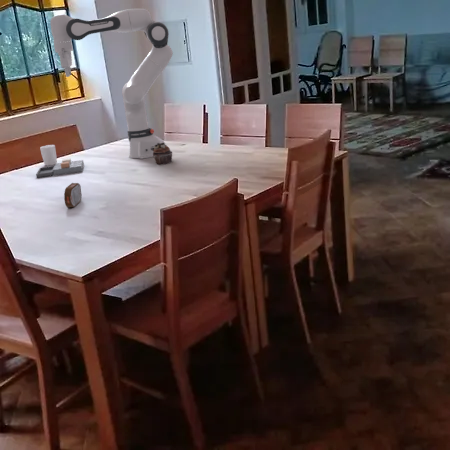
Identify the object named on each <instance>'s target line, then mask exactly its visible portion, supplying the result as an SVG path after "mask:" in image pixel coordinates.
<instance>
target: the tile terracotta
mask: <svg viewBox="0 0 450 450" xmlns="http://www.w3.org/2000/svg"><path fill="white" fill-rule="evenodd" d="M60 163H61V168H65V167H70V162H62V161H61V162H60Z"/></svg>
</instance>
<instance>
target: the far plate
mask: <svg viewBox="0 0 450 450" xmlns="http://www.w3.org/2000/svg"><path fill="white" fill-rule="evenodd" d="M61 163H62V162H59V163H58V162H57V164H54V166H55V167H54V169H53V173H54V175H53V177H54V176H55V177H56V176H63V175H70V174H75V173H76V174H77V173H83V171H84V167H85V163H84V159H81V160H73V161H72V160H71V164H70V167H65V168H61Z"/></svg>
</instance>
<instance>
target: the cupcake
mask: <svg viewBox="0 0 450 450" xmlns="http://www.w3.org/2000/svg"><path fill="white" fill-rule="evenodd" d="M170 150H171V148H170V147H169V146H168V145H167V144H166V143H157V145H155V146H154V150H153V156H154V157H153V158H154V161H155V164H156V165H159V166H162V165H168V164H171V163H173V162H172V161H173V151H170Z"/></svg>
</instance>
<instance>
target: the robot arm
mask: <svg viewBox="0 0 450 450" xmlns="http://www.w3.org/2000/svg"><path fill="white" fill-rule="evenodd" d="M50 29H51V35H52V37H53V47H54V53H55V54H56V53H58V56H59V59H60V65H61V68H62V69H63V71H64V73H65V77H66V78H69V77H71V76H72V69H71V67H72V66H73V59H72V52H73V51H74V49H73V42H72V40H74V41H81V40H83V39H84V38H86V37H87V36H89V35H92V34H98V33H104V32H105V33H106V32H112V33H119V34H122V33H123V34H125V33H127V34H128V33H133V32H134V33H135V32H143V33H144V35H145V37H146V38H147V40H148V41H149V42H150V43H151V45H152V46H151V49H150V51H149V52H148V54H147V56H145V58H144V59H143V60H142V62H141V63H140V64H139V66H138V67H137V68H136V70H135V72H134V73H133V74H132V75H131V77H130V78H129V80H128V82H126V83H125V84H124V85H123V87H122V89H121V93H122V100H123V105H124V113H125V118H126V119H125V120H126V126H127V138H128V139H127V140H128V141H129V154H128V157H129V158H130V159H148V158H152V157H153V158H154V156H153V150H154V146H155V145H157V143H165V141H164V140H163V138H161V137H159V136H157V135H155V134H154V133H155V130H154V129H153V128H151V127H149V121H148V114H147V108H146V101H145V97H146V95H147V94H148V92H149V91H150V90H151V88H152V86H153V85H154V84H155V82H156V80H157V79H158V78H159V76H161V74H162V73H163V72H164V70H165V69H166V67H167V66H168V65H169V63H170V61H171V59H172V57H173V55H174V54H173V53H174V52H173V49H172V48H171V47H170V45H168V43H169V29H168V27H167V26H166V25H165V24H164V23H162V22H160V21H154V20H153V19H152V15H151V12H150V11H149V10H148V9H147V8H128V9H124V10H119V11H117V12H114V13H112V14H111V15H108V16H106V17H103V18H96V19H90V20H84V19H81V18H74V17H72V16H69V15H67V14H65V13H60V14H57V15H54V16H52V17H51V19H50ZM165 144H166V143H165ZM170 151H171V149H170ZM171 152H172V151H171Z"/></svg>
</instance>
